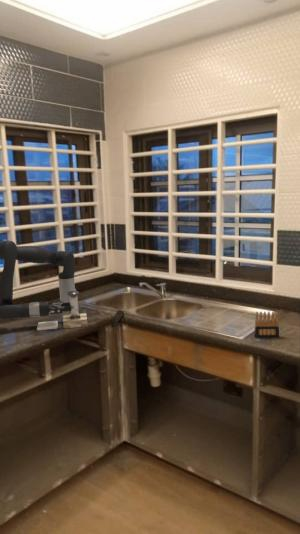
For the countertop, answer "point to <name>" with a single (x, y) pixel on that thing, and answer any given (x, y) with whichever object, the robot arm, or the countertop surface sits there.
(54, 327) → the pad
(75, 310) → the steel hook peg
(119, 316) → the hand tool
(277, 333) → the ammunition clip
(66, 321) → the eye block
